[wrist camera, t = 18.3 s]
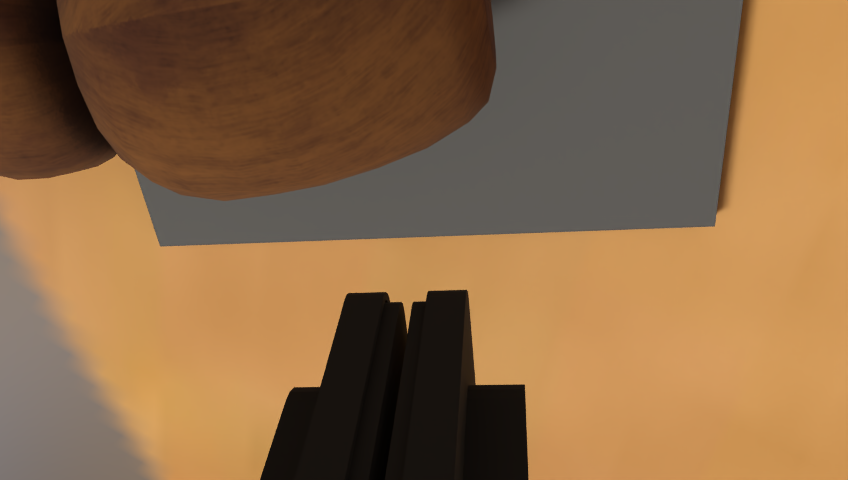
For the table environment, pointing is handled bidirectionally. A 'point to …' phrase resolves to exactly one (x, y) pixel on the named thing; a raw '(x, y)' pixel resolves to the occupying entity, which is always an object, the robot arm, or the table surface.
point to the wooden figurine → (237, 87)
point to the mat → (532, 139)
